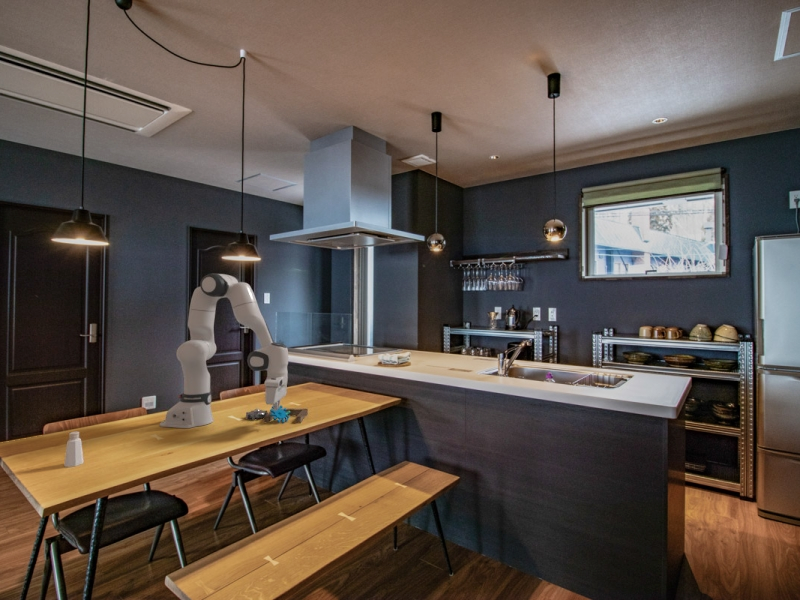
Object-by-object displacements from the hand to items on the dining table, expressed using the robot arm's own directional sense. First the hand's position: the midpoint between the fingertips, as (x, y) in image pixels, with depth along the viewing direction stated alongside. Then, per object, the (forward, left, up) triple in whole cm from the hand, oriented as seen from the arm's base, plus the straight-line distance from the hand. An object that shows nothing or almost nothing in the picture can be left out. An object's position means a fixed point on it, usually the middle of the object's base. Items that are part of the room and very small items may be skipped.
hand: (276, 409), depth 190 cm
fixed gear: (-14, +16, -8) cm, 23 cm away
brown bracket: (+1, +14, -8) cm, 16 cm away
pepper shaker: (-57, -44, -8) cm, 73 cm away
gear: (-1, +10, -8) cm, 13 cm away
